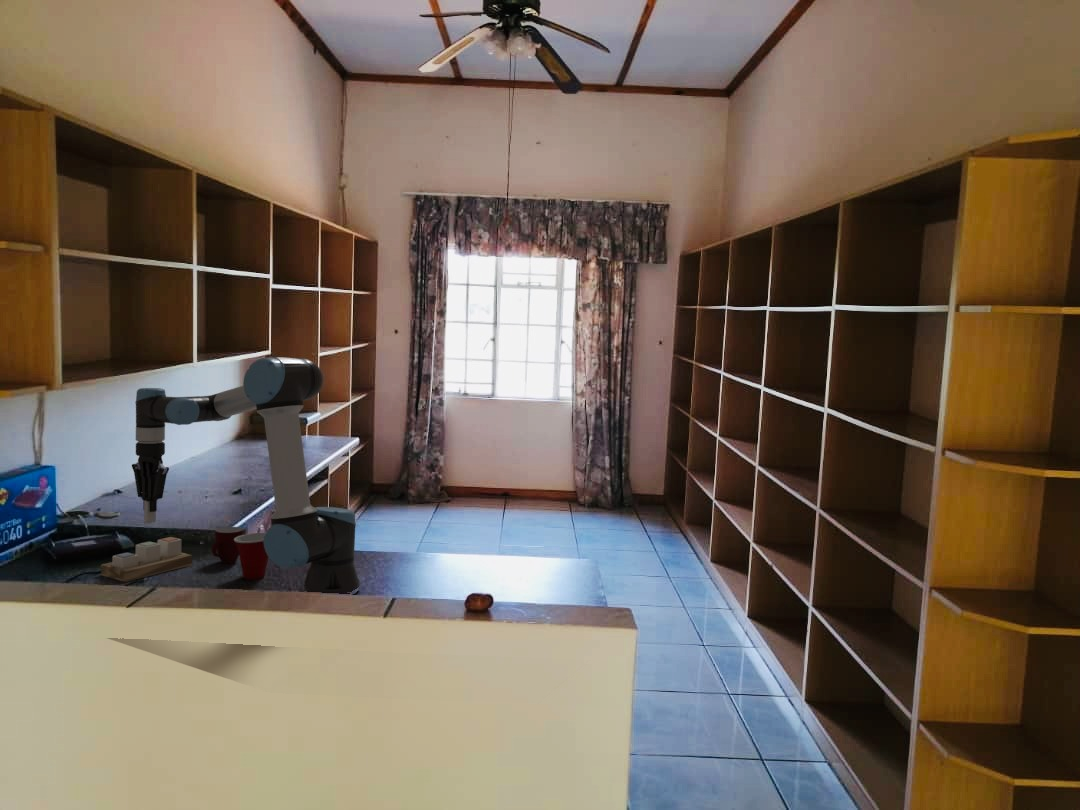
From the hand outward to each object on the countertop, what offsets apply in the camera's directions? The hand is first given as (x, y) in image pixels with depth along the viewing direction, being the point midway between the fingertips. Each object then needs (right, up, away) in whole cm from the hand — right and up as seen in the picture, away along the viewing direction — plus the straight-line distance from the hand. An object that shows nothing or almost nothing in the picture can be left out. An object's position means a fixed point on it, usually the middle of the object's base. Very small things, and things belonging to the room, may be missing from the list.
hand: (149, 522), depth 222 cm
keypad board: (-1, -14, +1) cm, 14 cm away
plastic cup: (+30, -16, -1) cm, 34 cm away
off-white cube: (-4, -14, -5) cm, 15 cm away
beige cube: (+2, -11, +7) cm, 13 cm away
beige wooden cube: (-1, -12, +1) cm, 12 cm away
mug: (+17, -14, +12) cm, 25 cm away
